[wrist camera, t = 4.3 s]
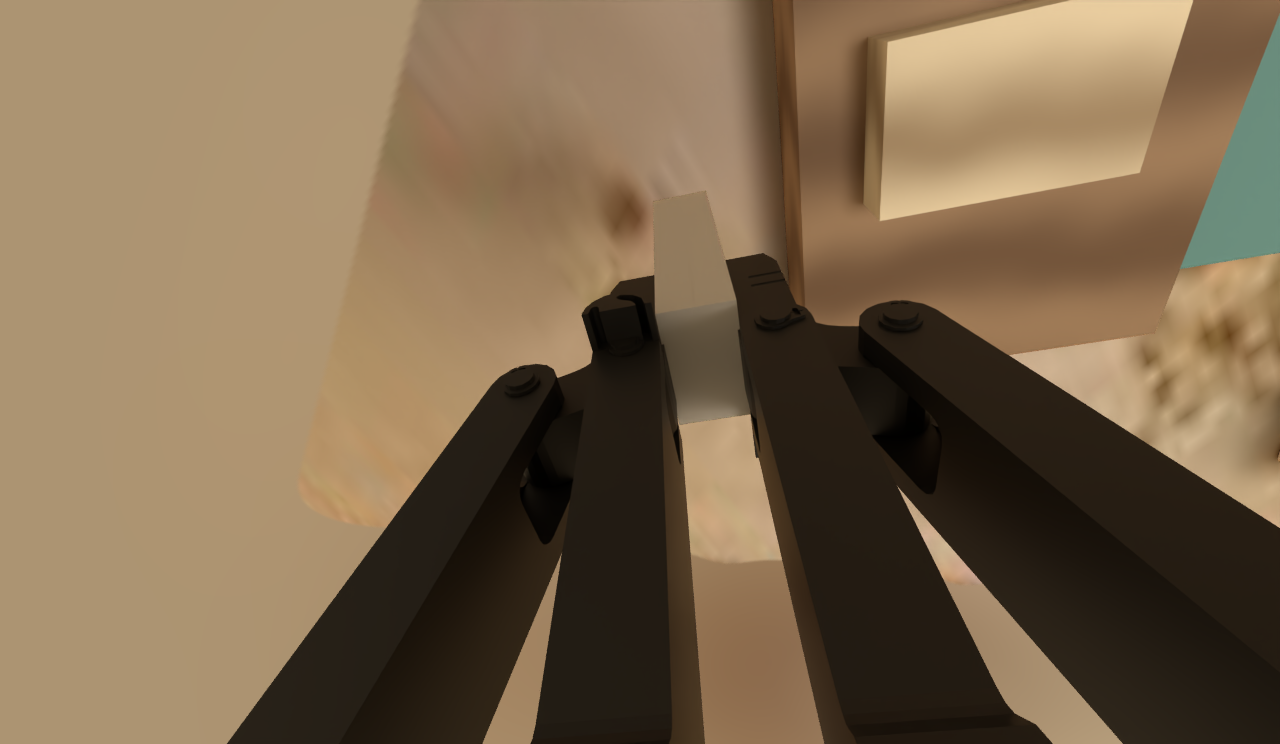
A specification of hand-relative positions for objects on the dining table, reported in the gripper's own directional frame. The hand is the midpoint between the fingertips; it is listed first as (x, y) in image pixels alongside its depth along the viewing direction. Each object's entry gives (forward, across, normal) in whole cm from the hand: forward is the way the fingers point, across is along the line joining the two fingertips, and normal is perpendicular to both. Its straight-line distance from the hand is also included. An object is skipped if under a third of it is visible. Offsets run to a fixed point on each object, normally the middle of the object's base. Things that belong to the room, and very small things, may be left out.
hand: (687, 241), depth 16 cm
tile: (+7, +12, 0) cm, 14 cm away
